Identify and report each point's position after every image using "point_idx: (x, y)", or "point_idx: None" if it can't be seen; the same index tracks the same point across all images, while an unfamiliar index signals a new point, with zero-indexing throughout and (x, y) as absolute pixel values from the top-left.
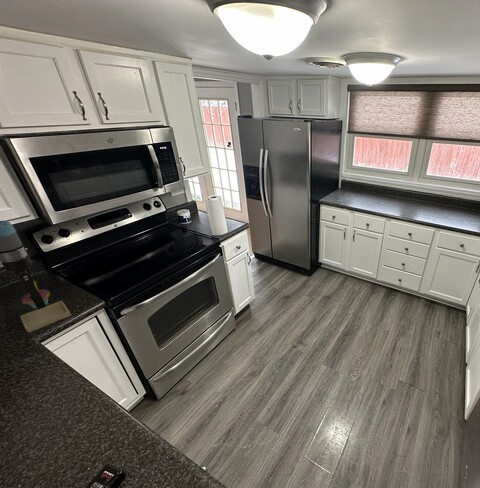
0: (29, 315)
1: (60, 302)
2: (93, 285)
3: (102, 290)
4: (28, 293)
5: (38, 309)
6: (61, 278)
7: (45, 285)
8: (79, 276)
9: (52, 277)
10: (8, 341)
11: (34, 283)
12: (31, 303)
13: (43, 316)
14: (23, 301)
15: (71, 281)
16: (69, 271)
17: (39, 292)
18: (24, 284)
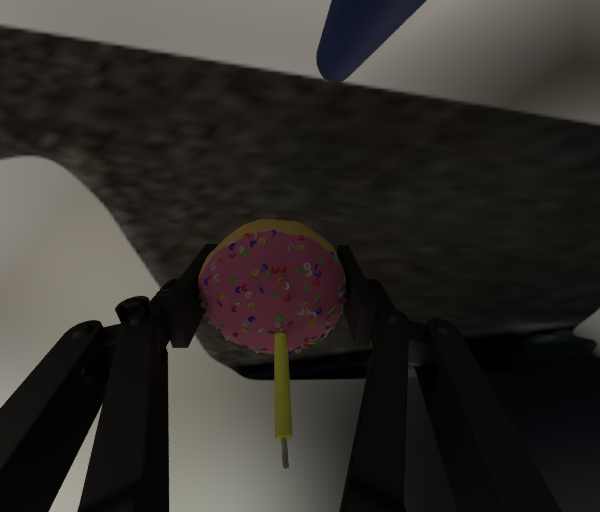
0: None
1: None
2: (359, 371)
3: (294, 378)
4: (289, 295)
5: (207, 246)
6: (538, 325)
7: (549, 279)
8: (480, 361)
9: (590, 308)
10: (119, 59)
11: (275, 416)
12: (208, 256)
13: None
14: (242, 235)
15: (470, 340)
16: (564, 351)
17: (245, 339)
18: (86, 478)
